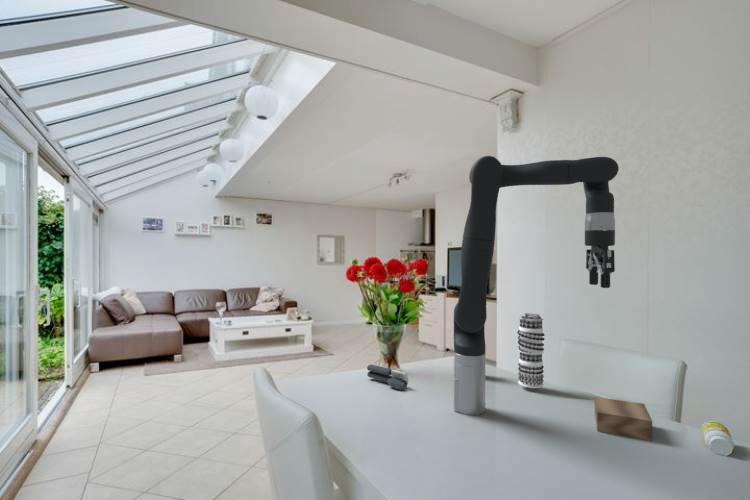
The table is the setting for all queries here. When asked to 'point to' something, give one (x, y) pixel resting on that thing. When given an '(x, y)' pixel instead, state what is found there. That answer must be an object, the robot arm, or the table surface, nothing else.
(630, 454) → the table surface
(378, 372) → the can opener
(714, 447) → the supplement bottle
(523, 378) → the decorative candle
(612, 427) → the brown wooden block
